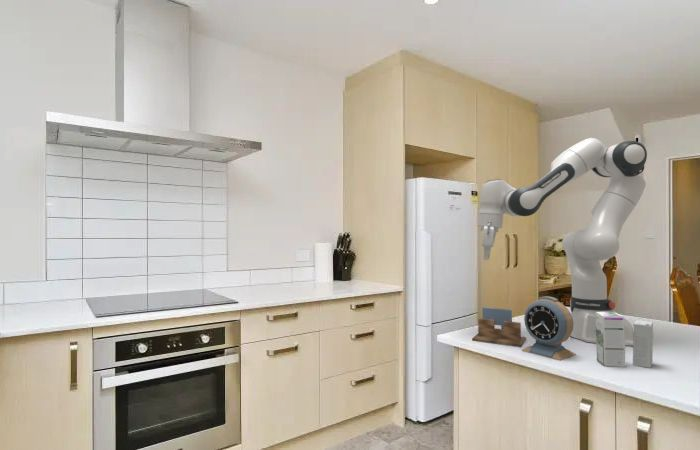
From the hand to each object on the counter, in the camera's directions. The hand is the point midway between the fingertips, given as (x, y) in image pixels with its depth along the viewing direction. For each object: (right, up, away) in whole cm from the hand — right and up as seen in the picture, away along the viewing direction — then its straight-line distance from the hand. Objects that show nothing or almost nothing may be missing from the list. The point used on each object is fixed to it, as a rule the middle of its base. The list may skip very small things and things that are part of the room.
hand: (486, 259), depth 153 cm
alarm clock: (+12, -28, -23) cm, 38 cm away
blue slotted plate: (+5, -28, +2) cm, 29 cm away
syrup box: (+25, -28, -34) cm, 50 cm away
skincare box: (+33, -28, -35) cm, 56 cm away
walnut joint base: (+2, -28, -8) cm, 29 cm away
